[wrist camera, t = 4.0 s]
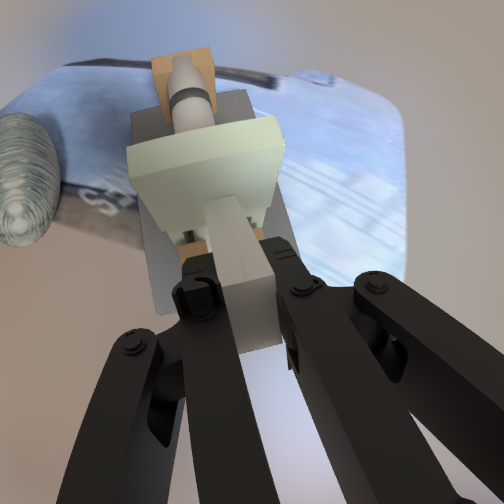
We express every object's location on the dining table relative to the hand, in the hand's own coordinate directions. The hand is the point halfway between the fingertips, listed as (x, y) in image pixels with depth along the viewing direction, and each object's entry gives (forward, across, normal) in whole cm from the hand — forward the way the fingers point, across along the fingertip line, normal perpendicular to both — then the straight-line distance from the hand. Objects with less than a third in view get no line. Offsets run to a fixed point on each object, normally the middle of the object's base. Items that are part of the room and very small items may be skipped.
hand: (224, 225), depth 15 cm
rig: (+14, 0, -3) cm, 14 cm away
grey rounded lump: (+18, -18, 0) cm, 26 cm away
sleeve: (+8, 0, -3) cm, 8 cm away
